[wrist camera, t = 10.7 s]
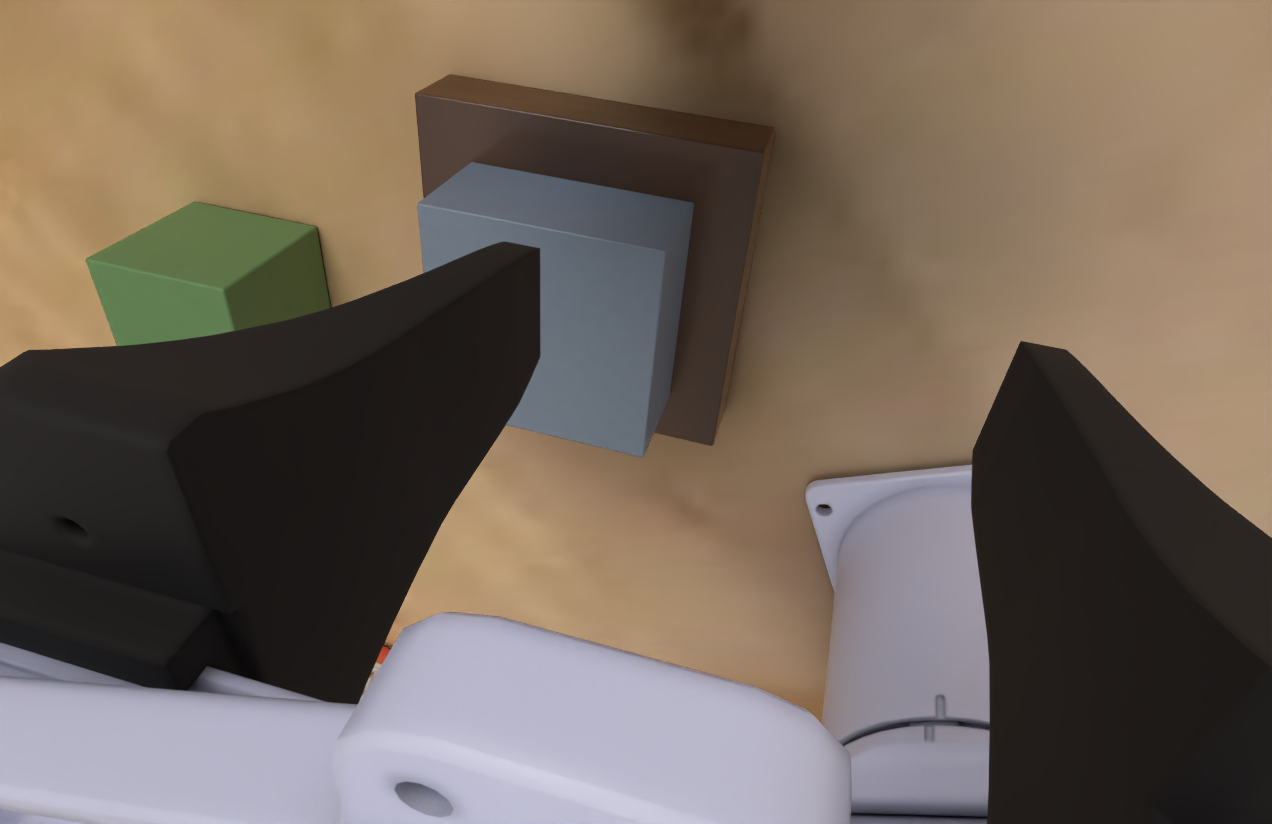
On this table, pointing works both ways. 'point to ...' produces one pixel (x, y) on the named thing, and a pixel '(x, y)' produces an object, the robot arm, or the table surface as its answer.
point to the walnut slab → (634, 161)
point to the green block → (208, 275)
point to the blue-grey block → (580, 293)
